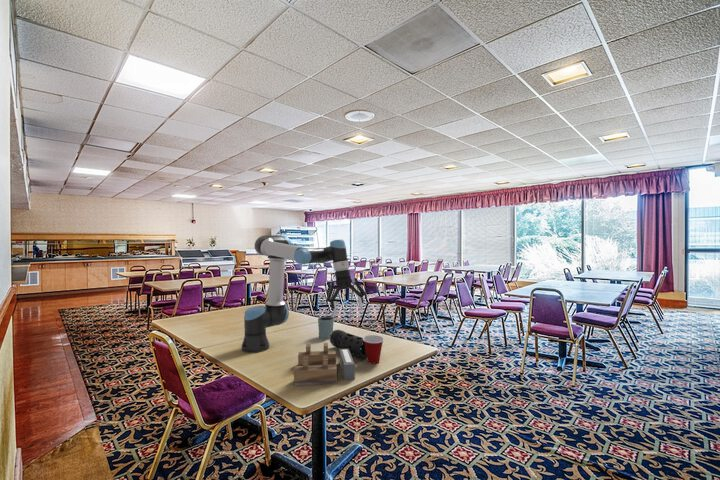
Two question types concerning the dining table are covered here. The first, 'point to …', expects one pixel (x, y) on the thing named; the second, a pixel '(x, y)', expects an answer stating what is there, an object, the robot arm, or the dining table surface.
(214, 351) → the dining table surface
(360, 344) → the black perforated cylinder
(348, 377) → the gray rectangular block
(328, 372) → the rack
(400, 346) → the dining table surface
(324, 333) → the grey green pot
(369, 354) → the plastic cup
